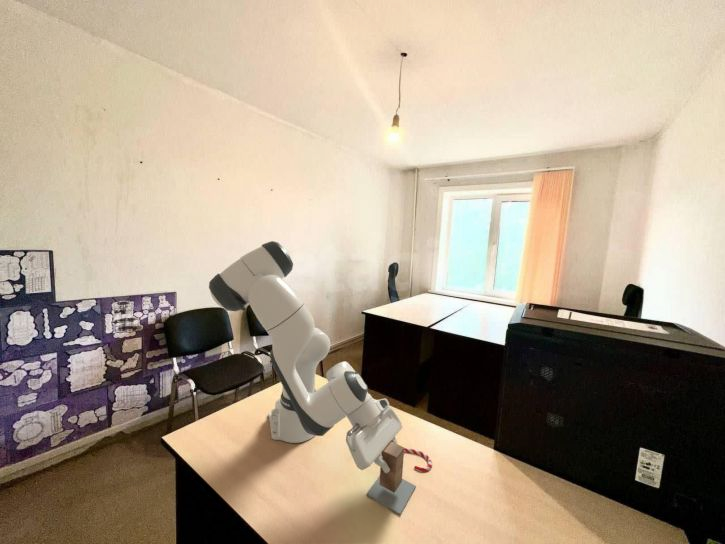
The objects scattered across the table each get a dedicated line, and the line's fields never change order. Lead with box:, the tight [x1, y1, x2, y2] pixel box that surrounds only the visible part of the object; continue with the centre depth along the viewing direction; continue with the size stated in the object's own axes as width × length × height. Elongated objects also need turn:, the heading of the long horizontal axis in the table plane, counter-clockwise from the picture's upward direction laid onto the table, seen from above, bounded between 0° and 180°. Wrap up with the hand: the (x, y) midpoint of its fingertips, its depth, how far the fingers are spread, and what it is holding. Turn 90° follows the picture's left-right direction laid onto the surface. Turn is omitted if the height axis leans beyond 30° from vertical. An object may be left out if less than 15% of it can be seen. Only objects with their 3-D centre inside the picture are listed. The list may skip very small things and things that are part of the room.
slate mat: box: [366, 475, 417, 516], centre depth 79 cm, size 10×10×1 cm
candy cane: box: [404, 447, 433, 473], centre depth 91 cm, size 8×1×15 cm
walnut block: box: [379, 442, 405, 493], centre depth 77 cm, size 4×4×10 cm
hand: (393, 463), depth 77 cm, fingers closed on walnut block, 4 cm apart
